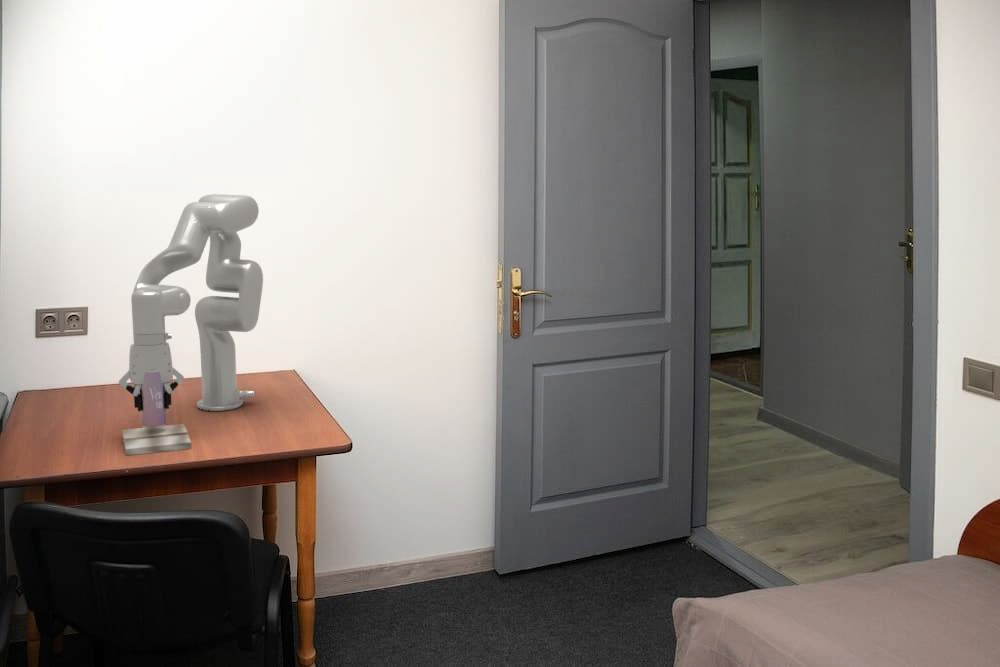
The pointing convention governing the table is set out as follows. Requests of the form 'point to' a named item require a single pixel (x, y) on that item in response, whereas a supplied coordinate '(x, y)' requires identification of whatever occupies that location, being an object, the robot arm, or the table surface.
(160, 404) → the beverage can
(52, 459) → the table surface
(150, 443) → the floorboard
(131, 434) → the plank
